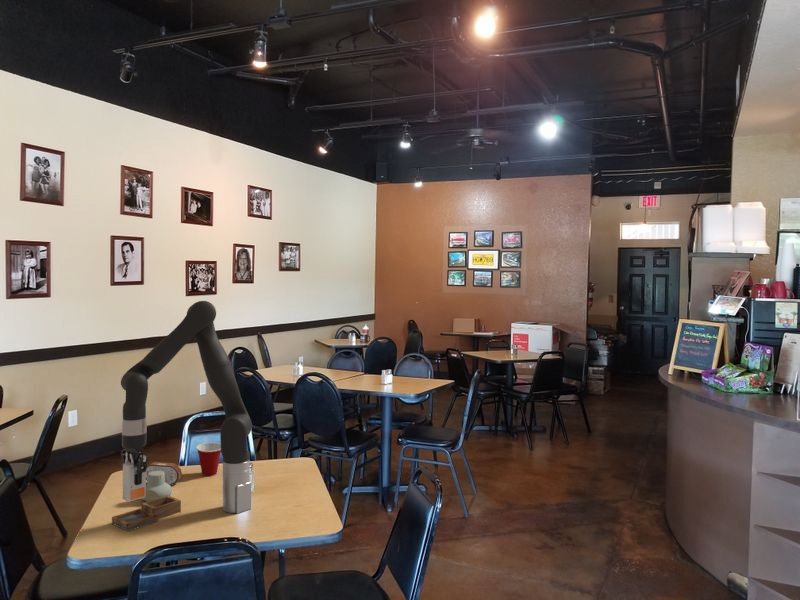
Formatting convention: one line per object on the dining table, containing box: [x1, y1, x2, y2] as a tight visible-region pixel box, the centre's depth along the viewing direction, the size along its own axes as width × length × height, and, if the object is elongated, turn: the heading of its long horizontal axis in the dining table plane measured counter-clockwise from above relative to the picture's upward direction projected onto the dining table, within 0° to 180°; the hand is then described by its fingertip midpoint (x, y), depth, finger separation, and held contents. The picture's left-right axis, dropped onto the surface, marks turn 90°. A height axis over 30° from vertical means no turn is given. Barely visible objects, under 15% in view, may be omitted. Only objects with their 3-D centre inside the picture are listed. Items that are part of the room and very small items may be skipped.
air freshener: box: [141, 471, 173, 502], centre depth 221 cm, size 11×8×10 cm
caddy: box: [111, 495, 182, 532], centre depth 203 cm, size 10×20×4 cm, turn 143°
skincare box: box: [122, 462, 147, 503], centre depth 199 cm, size 6×4×12 cm
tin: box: [146, 461, 183, 486], centre depth 238 cm, size 15×3×8 cm, turn 81°
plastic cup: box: [195, 442, 222, 477], centre depth 250 cm, size 11×11×12 cm
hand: (134, 482), depth 199 cm, fingers closed on skincare box, 4 cm apart
